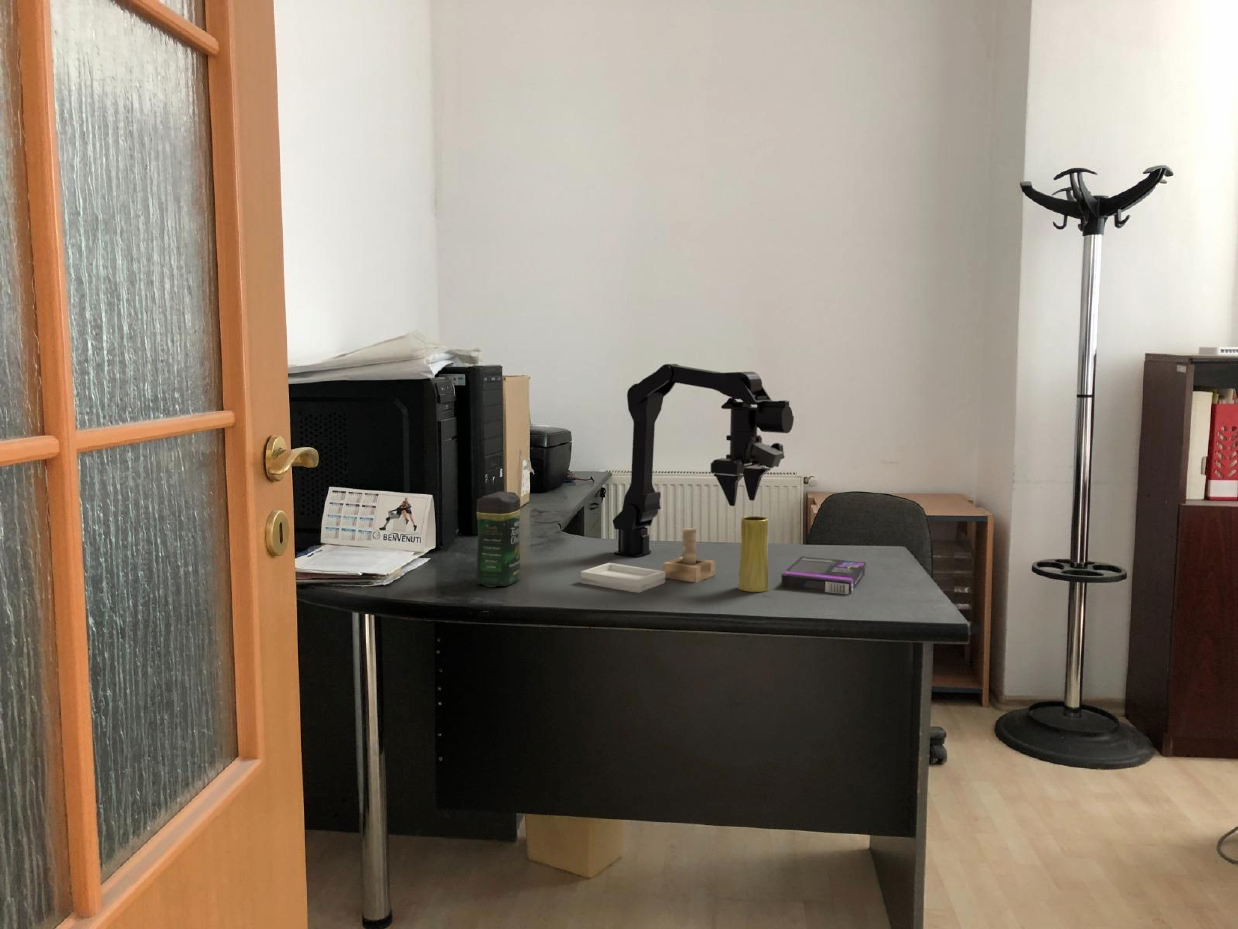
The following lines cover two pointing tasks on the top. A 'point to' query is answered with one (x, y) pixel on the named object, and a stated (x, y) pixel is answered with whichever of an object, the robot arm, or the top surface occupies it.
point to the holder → (689, 570)
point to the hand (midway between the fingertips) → (742, 503)
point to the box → (823, 575)
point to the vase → (754, 554)
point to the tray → (623, 577)
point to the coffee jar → (498, 539)
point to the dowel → (689, 546)
